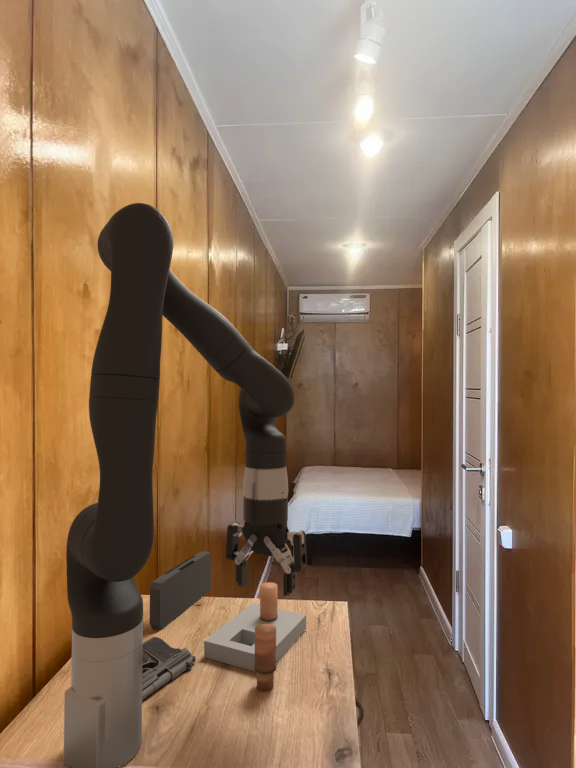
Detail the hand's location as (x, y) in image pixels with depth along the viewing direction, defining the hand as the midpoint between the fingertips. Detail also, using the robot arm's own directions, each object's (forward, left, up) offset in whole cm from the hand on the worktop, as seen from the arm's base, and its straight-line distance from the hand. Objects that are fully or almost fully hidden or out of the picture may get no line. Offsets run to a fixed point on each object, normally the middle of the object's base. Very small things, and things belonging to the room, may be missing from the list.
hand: (265, 589), depth 81 cm
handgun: (-6, +20, -17) cm, 27 cm away
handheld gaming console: (+18, +31, -16) cm, 39 cm away
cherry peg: (0, 0, -16) cm, 16 cm away
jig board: (+12, +8, -16) cm, 21 cm away
